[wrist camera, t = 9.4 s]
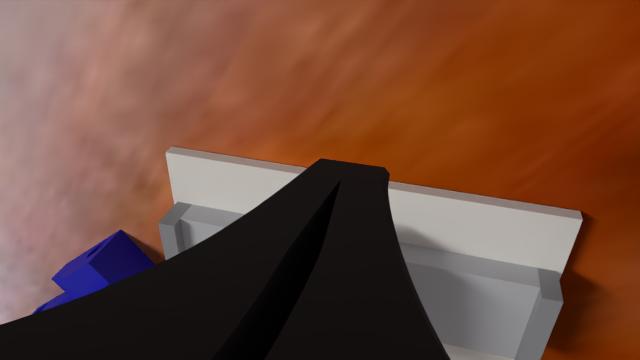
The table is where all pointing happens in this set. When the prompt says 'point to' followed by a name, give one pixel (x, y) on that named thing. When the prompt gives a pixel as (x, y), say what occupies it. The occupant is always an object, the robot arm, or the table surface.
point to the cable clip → (99, 269)
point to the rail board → (415, 249)
